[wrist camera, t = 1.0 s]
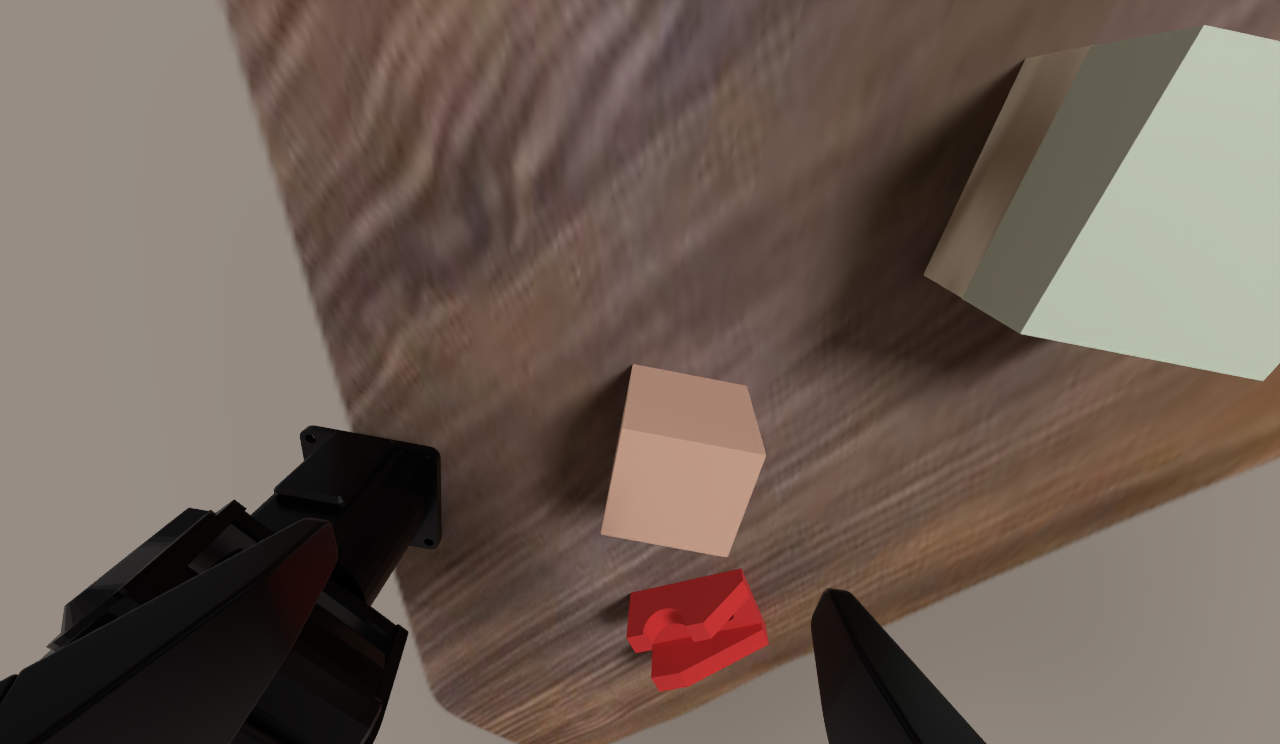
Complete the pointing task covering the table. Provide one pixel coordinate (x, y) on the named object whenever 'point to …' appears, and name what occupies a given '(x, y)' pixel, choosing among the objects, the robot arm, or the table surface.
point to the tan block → (683, 462)
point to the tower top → (1152, 208)
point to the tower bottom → (1002, 165)
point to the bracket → (695, 627)
